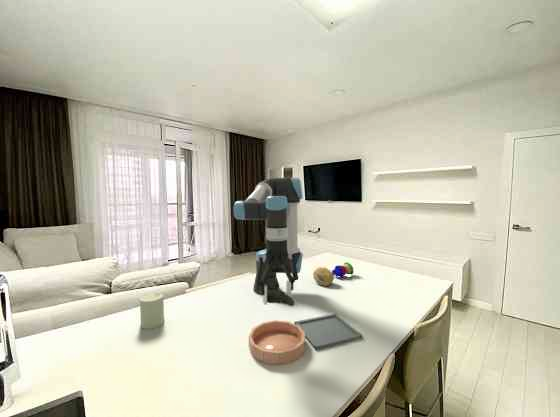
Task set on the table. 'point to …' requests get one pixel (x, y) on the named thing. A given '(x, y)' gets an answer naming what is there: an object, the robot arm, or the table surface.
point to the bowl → (277, 342)
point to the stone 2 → (323, 276)
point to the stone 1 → (278, 296)
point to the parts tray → (327, 331)
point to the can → (152, 310)
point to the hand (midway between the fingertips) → (277, 301)
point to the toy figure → (343, 270)
